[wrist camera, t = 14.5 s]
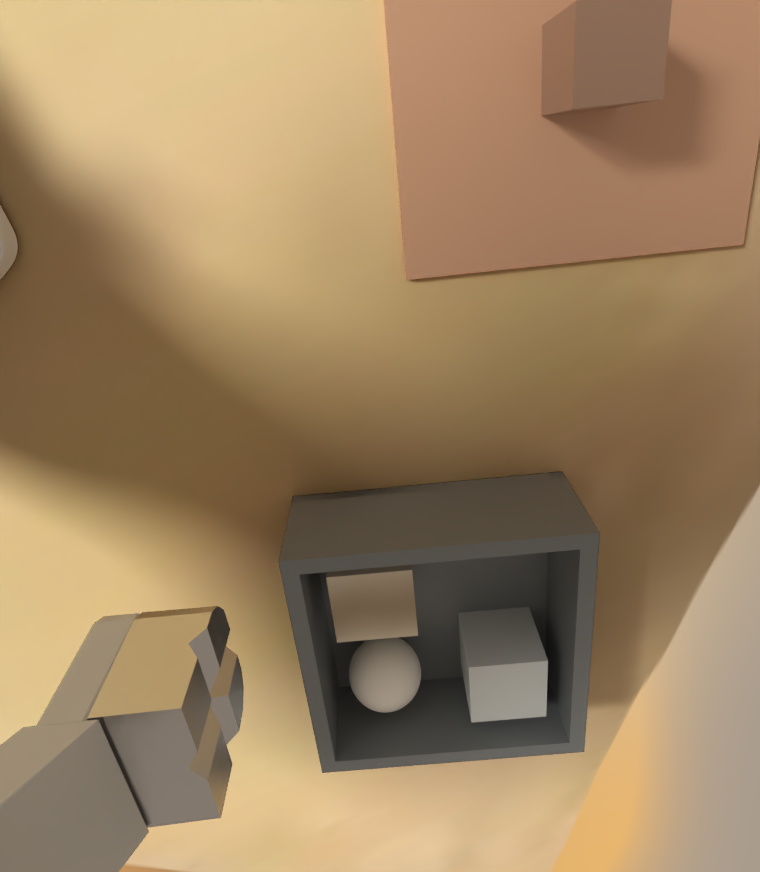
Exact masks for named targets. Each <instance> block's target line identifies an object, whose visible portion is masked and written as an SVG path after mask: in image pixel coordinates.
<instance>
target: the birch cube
mask: <svg viewBox="0 0 760 872" xmlns="http://www.w3.org/2000/svg"><path fill="white" fill-rule="evenodd" d="M326 580H327V586H328V592H329V598H330V604H331V610H332V616H333V621H334V627H335V633H336V639H337V643H339V642H350V641H362V640H373V639H385V638H397V637H408V636H418V628H417V618H416V607H415V596H414V585H413V574H412V565H401V566H390V567H379V568H368V569H356V570H345V571H334V572H327V574H326Z"/></svg>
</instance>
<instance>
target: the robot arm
mask: <svg viewBox="0 0 760 872" xmlns="http://www.w3.org/2000/svg"><path fill="white" fill-rule="evenodd" d="M17 251H18V243H17V238H16V235H15V233H14V230H13V228H12V226H11V224H10V222H9V220H8V219H7V217H6V215H5V213H4V211H3V209H2V207H1V205H0V279H1V278H2V277H3V276H4V275H5V274H6V272H7V271H8V270H9V269H10V267H11V266H12V264H13V263H14V260H15V258H16V255H17ZM229 631H230V628H229V625H228V622H227V619H226V616H225V613H224V610H223V609H221V608H220V607H218V606H212V607H200V608H189V609H177V610H165V611H153V612H142V613H141V614H126V615H114V616H104V617H102V618H101V619H99V620H98V621H96V622H95V623H94V624H93V626H92V627H91V629H90V631H89V633H88V634H87V636H86V638H85V640H84V642H83V643H82V645H81V647H80V649H79V651H78V652H77V654H76V656H75V658H74V659H73V661H72V663H71V665H70V667H69V668H68V670H67V672H66V674H65V676H64V677H63V679H62V681H61V683H60V684H59V686H58V688H57V690H56V692H55V693H54V695H53V697H52V699H51V701H50V702H49V704H48V706H47V708H46V709H45V711H44V713H43V715H42V717H41V718H40V720H39V722H38V724H37V726H31V727H23V728H22V729H21V730H19V731H18V732H17V733H15V734H14V735H13V736H12V737H10V738H9V739H8V740H7V741H5V742H4V743H3V744H2V745H0V872H119V871H120V869H121V868H122V867H123V865H124V864H125V863H126V861H127V860H128V859H129V857H130V856H131V855H132V854H133V852H134V851H135V850H136V848H137V847H138V846H139V844H140V843H141V842H142V840H143V839H144V838H145V836H146V835H147V834H148V827H155V826H163V825H170V824H178V823H185V822H193V821H200V820H208V819H215V818H221V815H222V810H223V806H224V801H225V796H226V791H227V786H228V782H229V777H230V772H231V767H232V762H231V758H230V755H229V752H228V749H227V746H226V745H227V744H228V743H229V741H230V740H231V739H232V738H233V737H234V736H235V735H236V734H237V733H238V731H239V728H240V722H241V717H242V711H243V679H242V671H241V667H240V663H239V659H238V655H237V654H235V653H234V652H233V651H231V650H230V649H229V648H227V647H226V643H227V639H228V635H229Z"/></svg>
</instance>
